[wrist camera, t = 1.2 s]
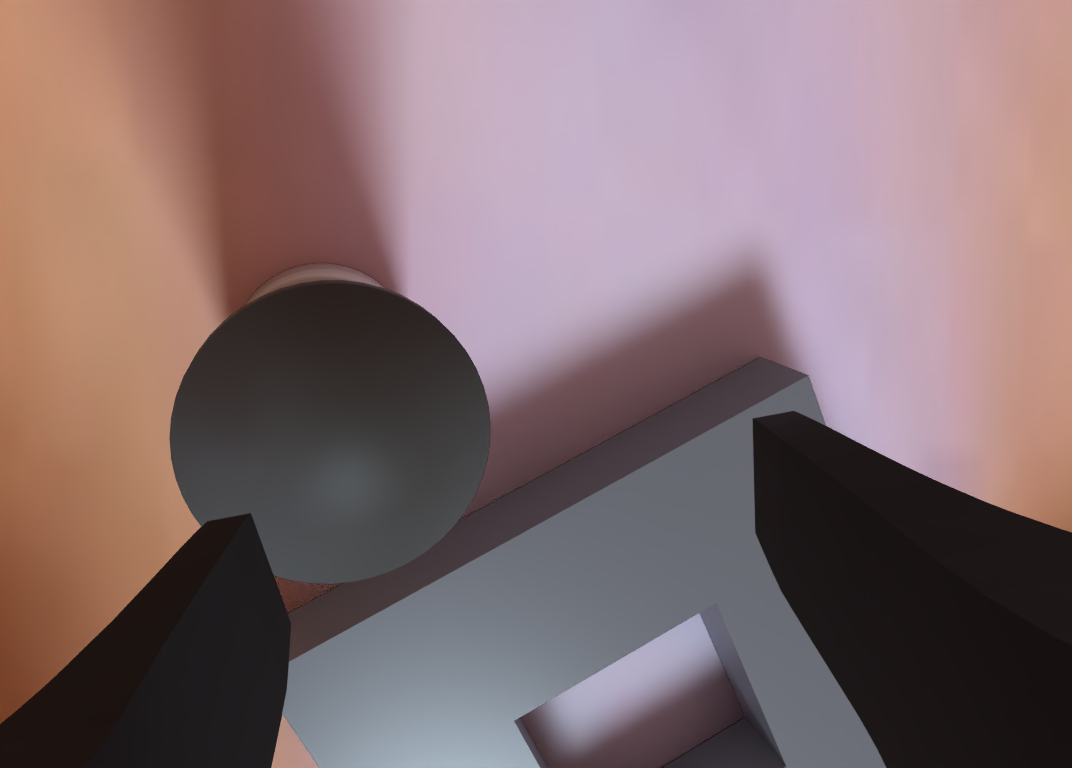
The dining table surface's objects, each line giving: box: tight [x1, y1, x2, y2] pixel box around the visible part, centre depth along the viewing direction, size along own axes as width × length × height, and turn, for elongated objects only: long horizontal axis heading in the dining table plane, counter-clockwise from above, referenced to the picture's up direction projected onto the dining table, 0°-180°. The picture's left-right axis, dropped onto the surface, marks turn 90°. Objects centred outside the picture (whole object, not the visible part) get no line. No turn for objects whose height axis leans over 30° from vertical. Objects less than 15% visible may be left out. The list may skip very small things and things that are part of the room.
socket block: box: [282, 357, 886, 768], centre depth 25 cm, size 16×16×2 cm
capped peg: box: [170, 263, 490, 584], centre depth 18 cm, size 5×5×8 cm
